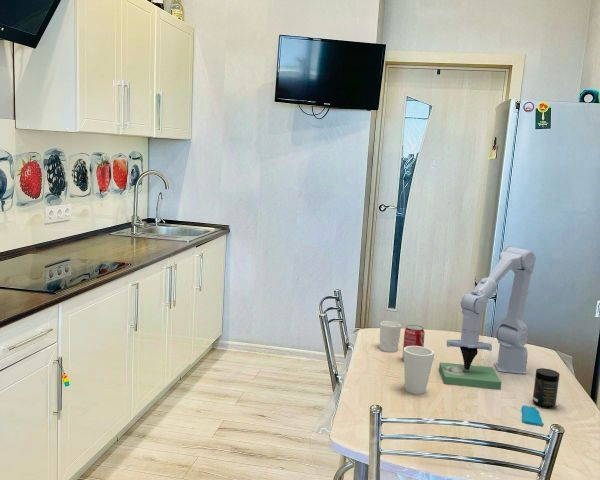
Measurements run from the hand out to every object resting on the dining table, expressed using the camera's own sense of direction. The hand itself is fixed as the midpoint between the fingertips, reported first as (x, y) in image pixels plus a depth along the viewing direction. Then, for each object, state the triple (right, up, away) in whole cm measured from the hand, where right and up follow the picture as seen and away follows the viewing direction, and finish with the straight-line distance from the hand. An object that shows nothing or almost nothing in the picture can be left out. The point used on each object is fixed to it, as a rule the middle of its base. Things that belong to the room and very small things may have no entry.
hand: (466, 368), depth 198 cm
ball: (-3, -1, +1) cm, 3 cm away
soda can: (-16, -1, +14) cm, 21 cm away
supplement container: (+19, -7, -17) cm, 27 cm away
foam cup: (-20, -4, -12) cm, 24 cm away
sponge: (+11, -9, -27) cm, 30 cm away
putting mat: (+1, -4, 0) cm, 4 cm away
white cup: (-22, +1, +27) cm, 35 cm away
